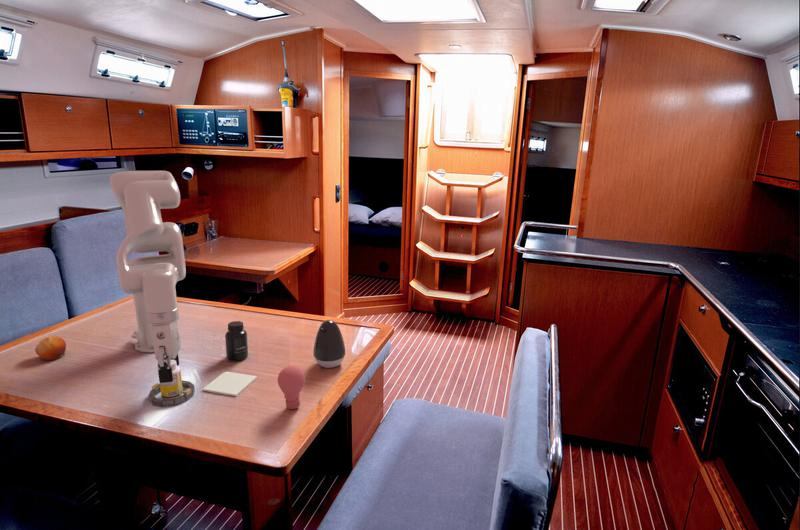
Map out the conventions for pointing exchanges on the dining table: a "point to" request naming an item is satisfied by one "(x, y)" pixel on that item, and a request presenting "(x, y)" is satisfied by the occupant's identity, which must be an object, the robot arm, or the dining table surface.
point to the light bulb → (291, 385)
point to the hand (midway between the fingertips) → (170, 373)
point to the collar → (171, 402)
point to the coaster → (230, 383)
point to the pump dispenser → (329, 345)
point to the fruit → (51, 348)
